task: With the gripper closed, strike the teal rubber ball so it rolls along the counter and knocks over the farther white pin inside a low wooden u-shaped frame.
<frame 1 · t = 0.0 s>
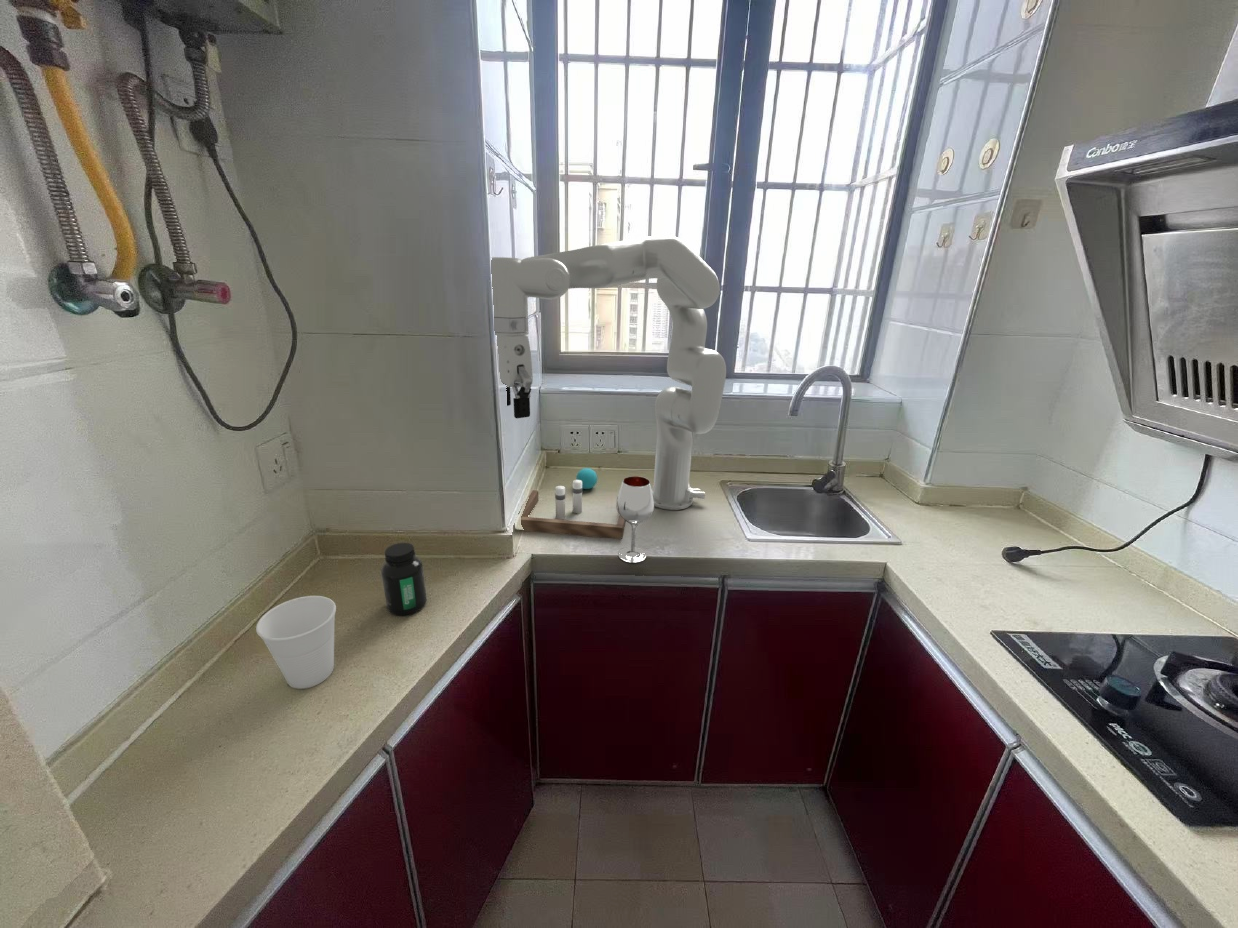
hand: (512, 411, 103), 31 cm above the countertop, tool pointing down, fingers open, 9 cm apart
pin 1: (560, 518, 127), on the countertop
wineglass: (632, 556, 112), on the countertop
ball: (586, 478, 143), on the countertop
supplement bottle: (407, 606, 93), on the countertop
cup: (311, 675, 77), on the countertop
pin 2: (577, 511, 130), on the countertop
wooden u-shaped frame: (575, 516, 128), on the countertop
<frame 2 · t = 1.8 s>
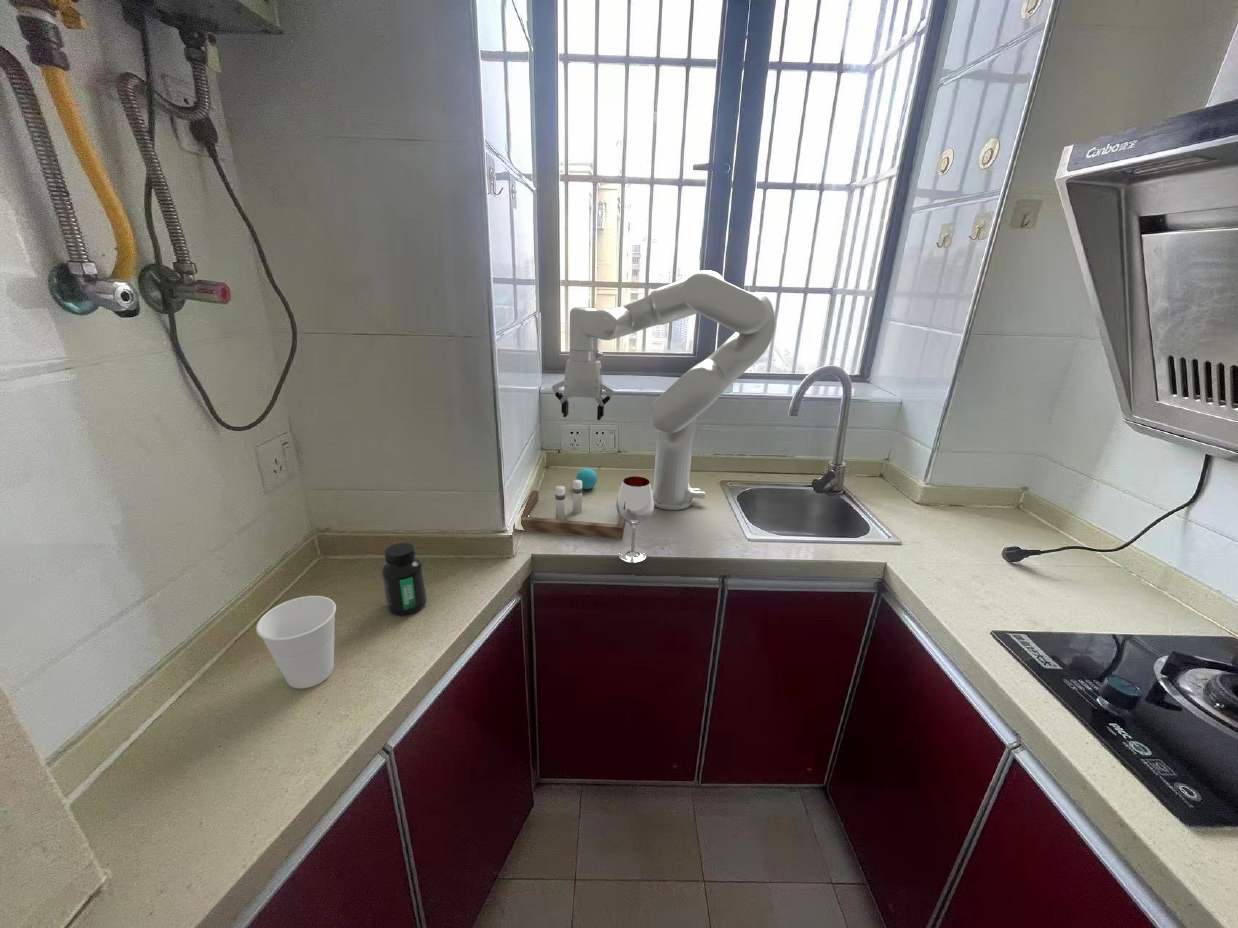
hand: (582, 417, 140), 20 cm above the countertop, tool pointing down, fingers open, 9 cm apart
nothing on the countertop moved.
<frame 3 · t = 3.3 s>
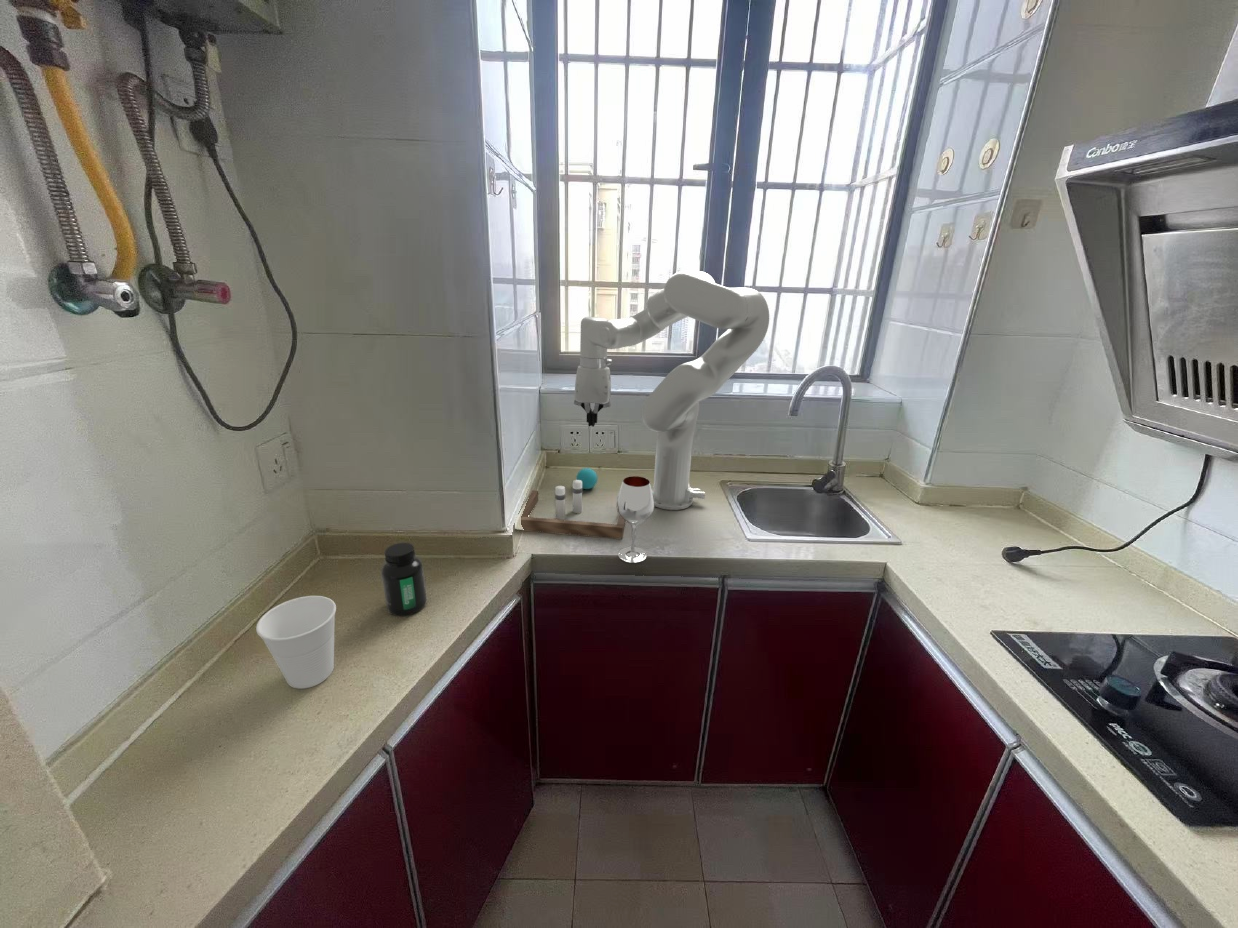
hand: (591, 425, 147), 16 cm above the countertop, tool pointing down, fingers closed
nothing on the countertop moved.
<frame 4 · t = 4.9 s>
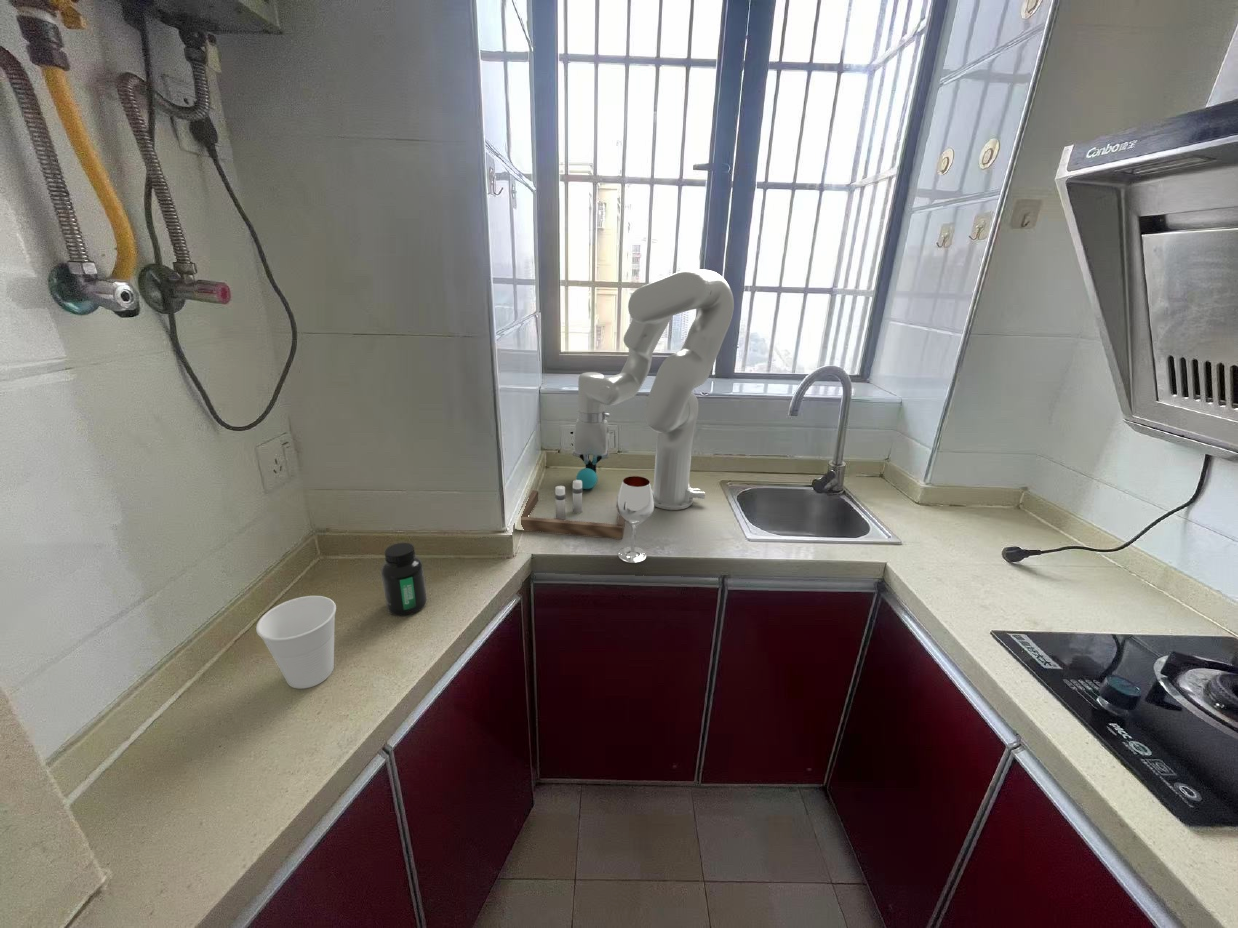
hand: (590, 475, 150), 1 cm above the countertop, tool pointing down, fingers closed
nothing on the countertop moved.
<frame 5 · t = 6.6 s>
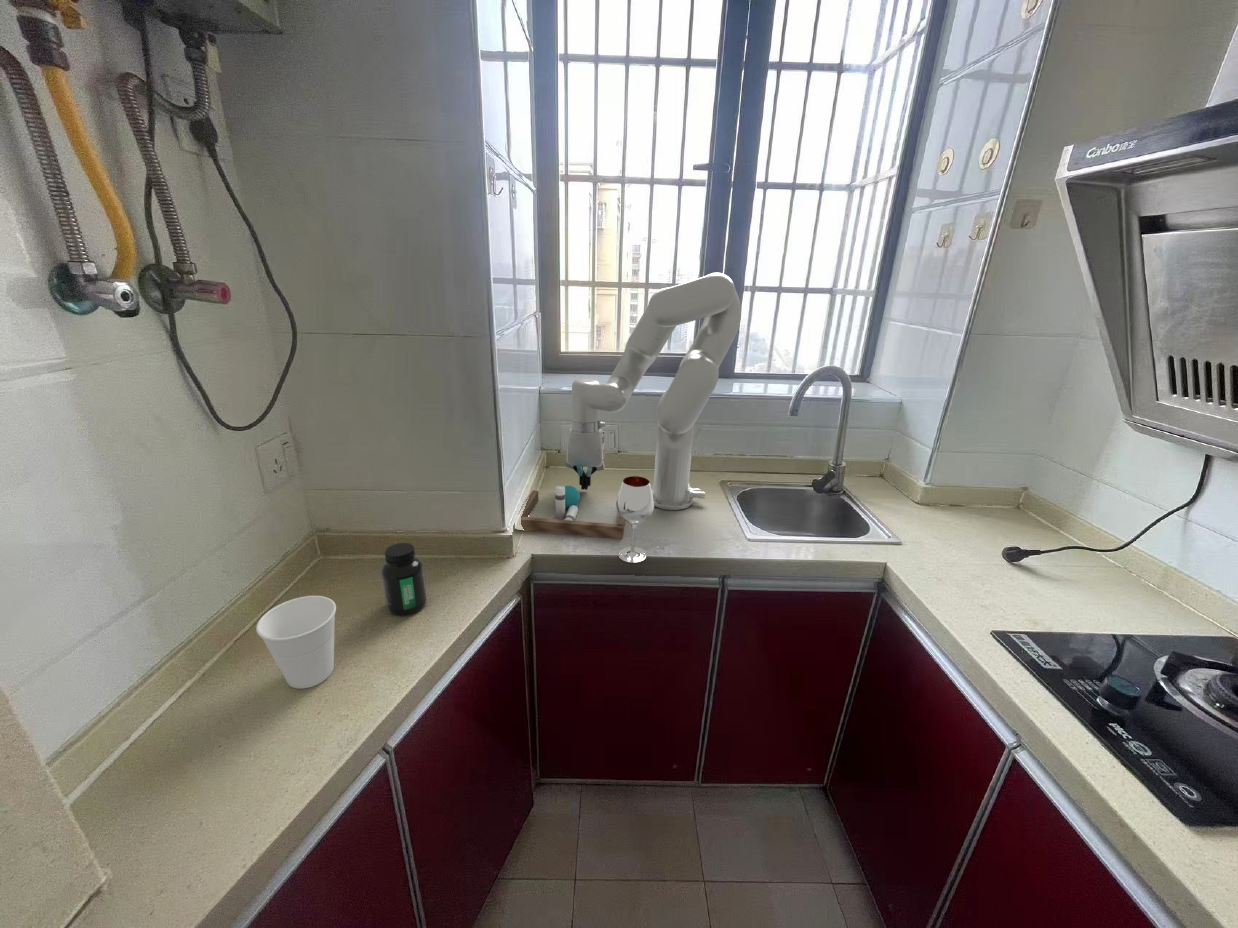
hand: (585, 487, 141), 2 cm above the countertop, tool pointing down, fingers closed
ball: (568, 497, 131), on the countertop
pin 2: (573, 509, 129), point 1 cm above the countertop, tilted 90°
everything else where it was.
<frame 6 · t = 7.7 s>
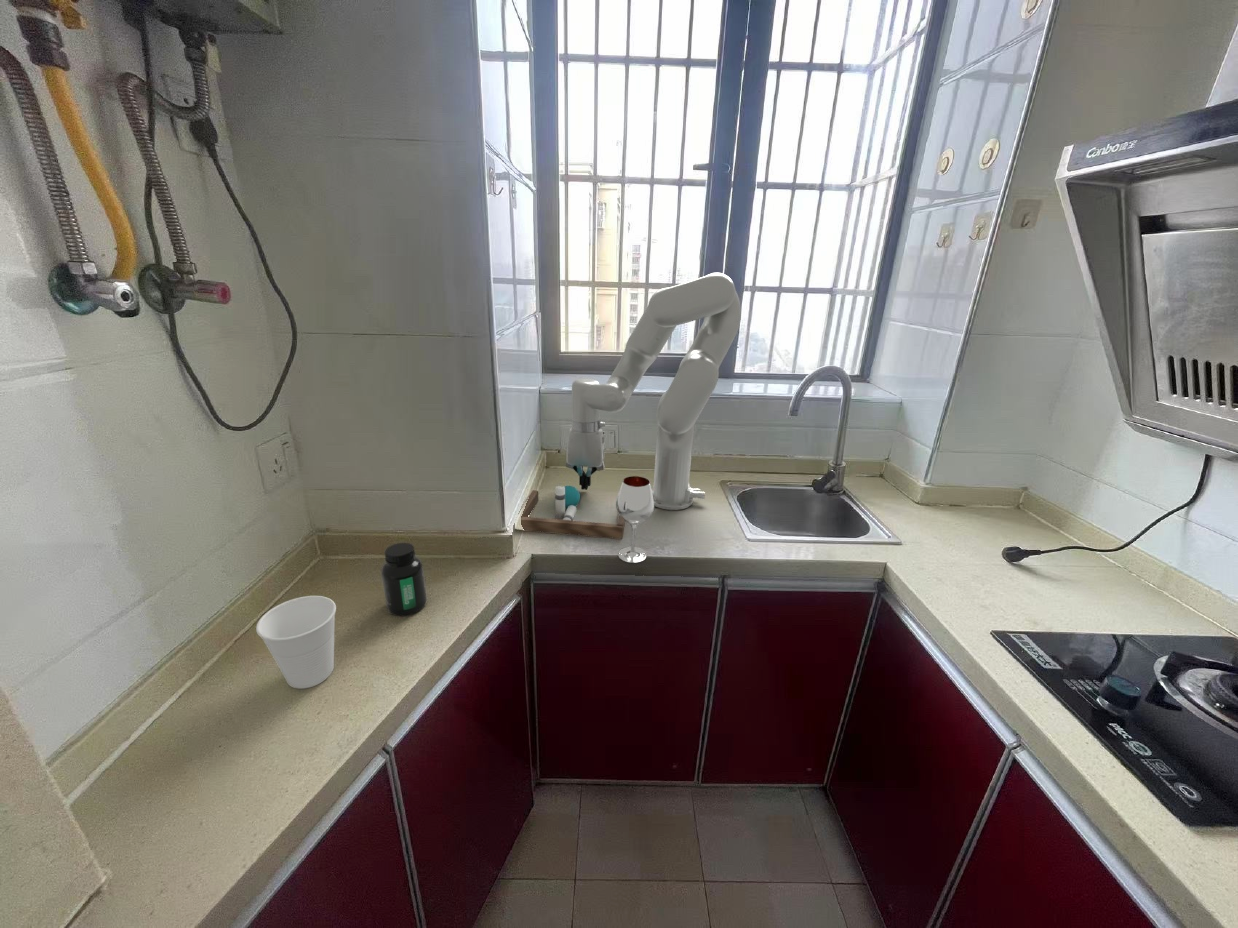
hand: (585, 487, 141), 2 cm above the countertop, tool pointing down, fingers closed
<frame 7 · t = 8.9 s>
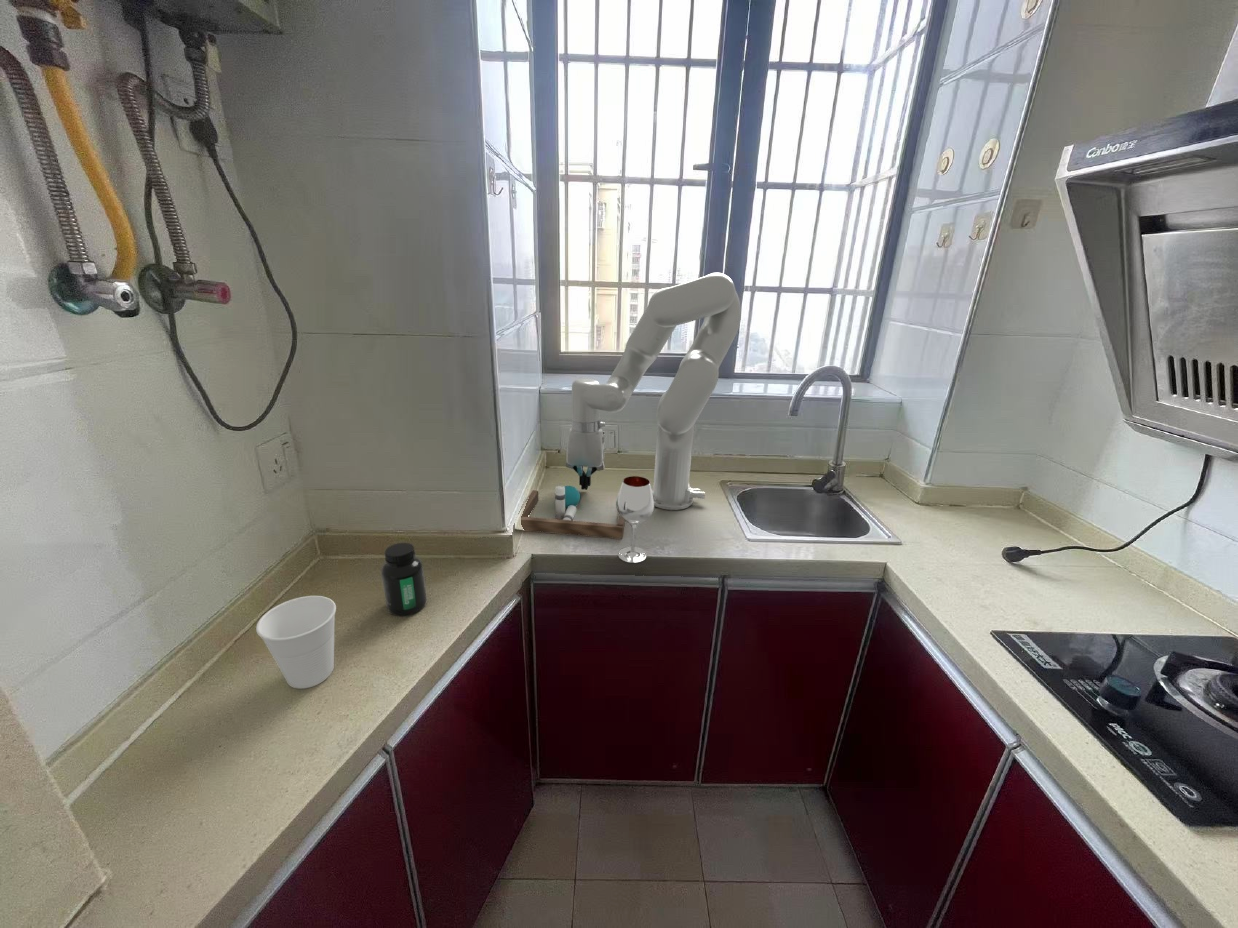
hand: (585, 487, 141), 2 cm above the countertop, tool pointing down, fingers closed
nothing on the countertop moved.
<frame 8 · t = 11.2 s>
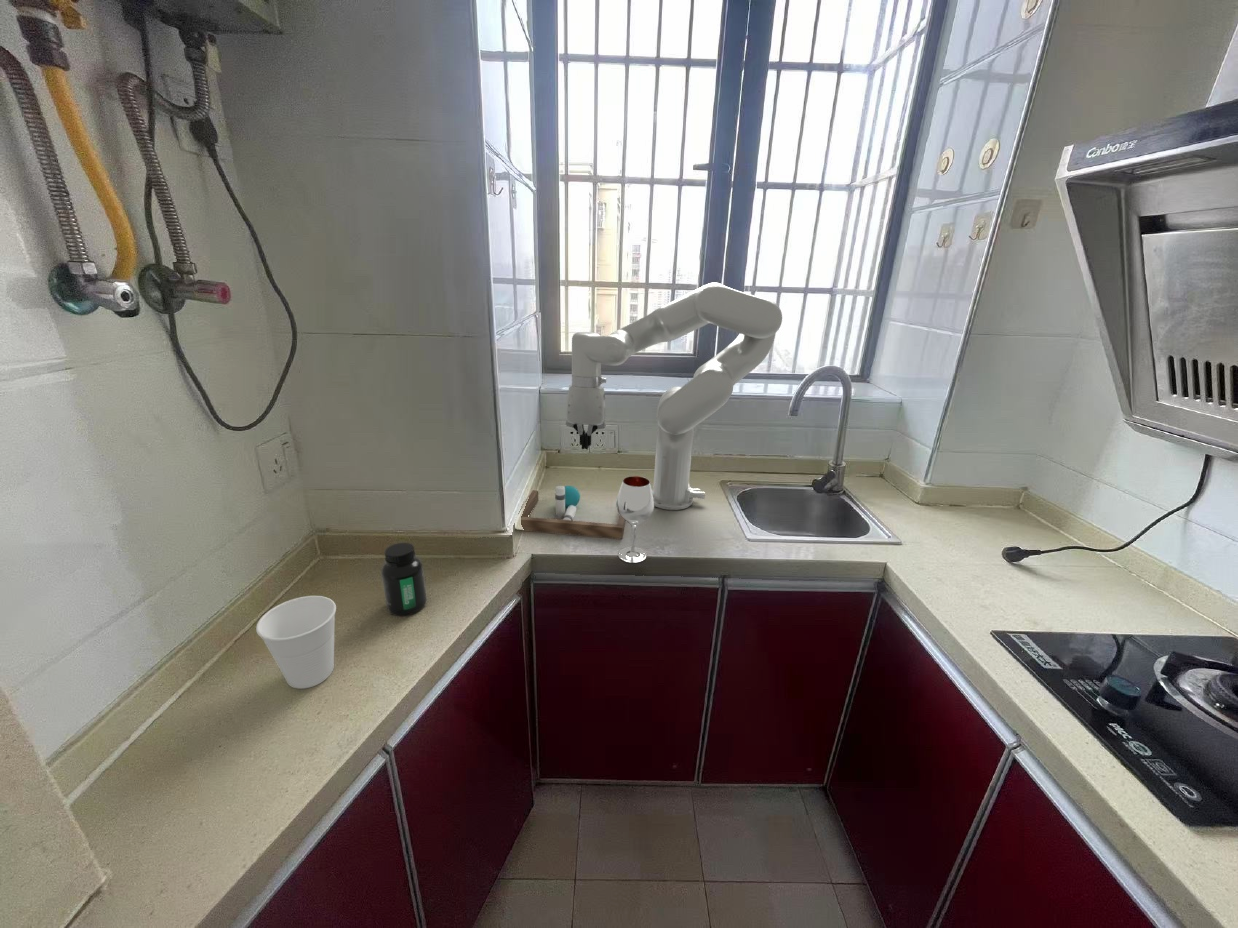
hand: (585, 447, 137), 13 cm above the countertop, tool pointing down, fingers closed
nothing on the countertop moved.
at the end: pin 2 tilted 90°; pin 2 never touched the robot; ball moved 13.3 cm from its start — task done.
